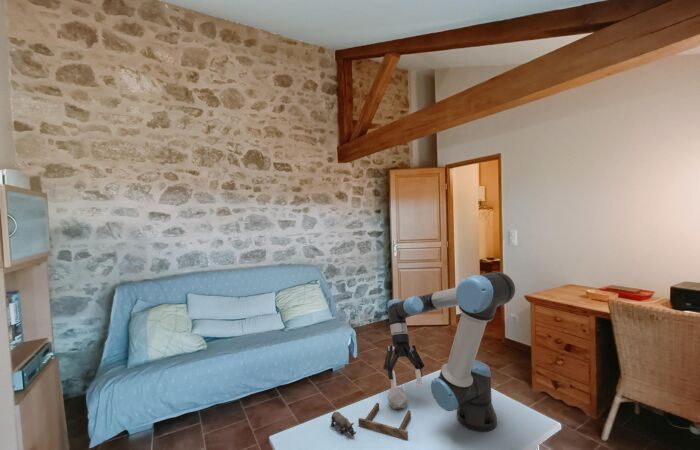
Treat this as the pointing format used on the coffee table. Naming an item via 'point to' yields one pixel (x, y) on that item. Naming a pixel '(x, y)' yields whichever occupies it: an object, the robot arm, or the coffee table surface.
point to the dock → (383, 428)
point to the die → (397, 398)
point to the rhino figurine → (342, 423)
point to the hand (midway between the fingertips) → (407, 387)
